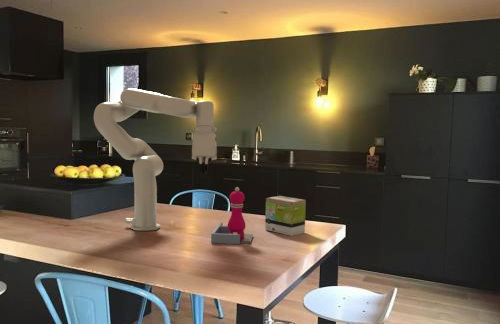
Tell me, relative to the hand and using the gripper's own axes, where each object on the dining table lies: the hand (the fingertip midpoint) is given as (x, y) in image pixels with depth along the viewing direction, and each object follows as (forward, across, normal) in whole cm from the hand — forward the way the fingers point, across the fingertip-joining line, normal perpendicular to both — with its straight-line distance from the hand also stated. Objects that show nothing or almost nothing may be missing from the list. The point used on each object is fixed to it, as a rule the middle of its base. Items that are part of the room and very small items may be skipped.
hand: (204, 173), depth 191 cm
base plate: (+25, -16, +12) cm, 32 cm away
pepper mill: (+24, -16, +12) cm, 32 cm away
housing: (+25, -13, +9) cm, 29 cm away
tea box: (+25, -35, -6) cm, 44 cm away
